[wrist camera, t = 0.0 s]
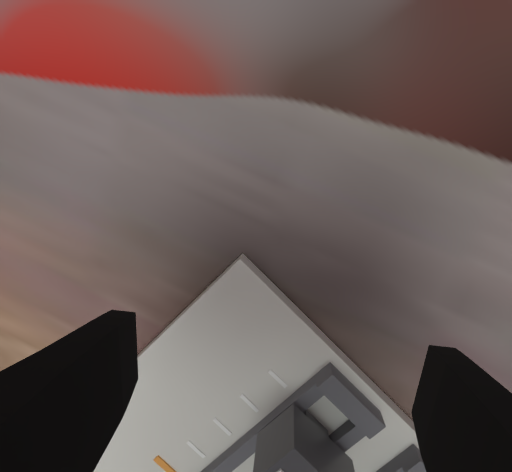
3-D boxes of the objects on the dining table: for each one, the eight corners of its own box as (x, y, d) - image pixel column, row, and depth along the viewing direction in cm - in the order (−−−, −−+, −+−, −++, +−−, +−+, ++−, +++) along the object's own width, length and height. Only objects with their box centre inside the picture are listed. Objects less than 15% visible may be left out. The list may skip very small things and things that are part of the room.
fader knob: (314, 469, 21) (320, 548, 17) (259, 418, 21) (251, 484, 17) (348, 442, 21) (363, 516, 16) (293, 389, 20) (294, 450, 16)
